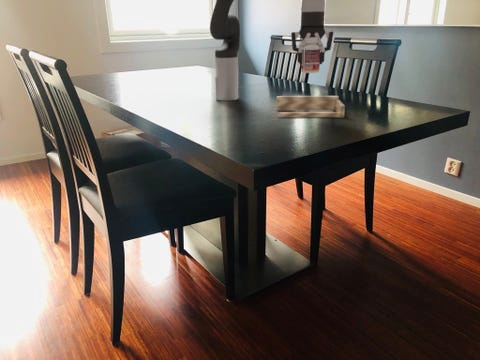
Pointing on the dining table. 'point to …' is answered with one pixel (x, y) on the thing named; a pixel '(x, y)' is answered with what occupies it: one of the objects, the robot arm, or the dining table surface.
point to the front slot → (320, 110)
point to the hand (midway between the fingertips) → (310, 63)
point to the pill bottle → (311, 56)
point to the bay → (310, 106)
